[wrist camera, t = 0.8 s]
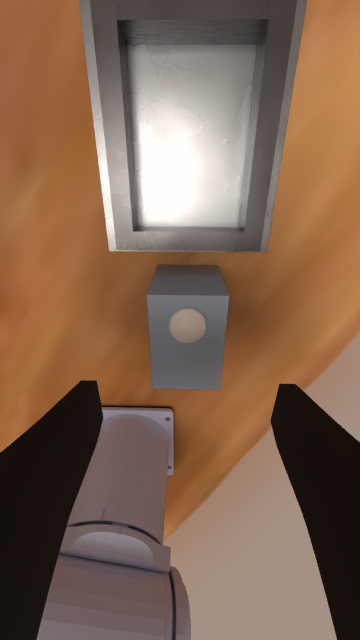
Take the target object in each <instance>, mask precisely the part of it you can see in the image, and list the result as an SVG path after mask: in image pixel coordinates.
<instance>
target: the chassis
mask: <svg viewBox="0 0 360 640" xmlns="http://www.w3.org/2000/svg"><path fill="white" fill-rule="evenodd" d="M306 4H307V0H79V5H80V13H81V22H82V30H83V38H84V46H85V55H86V63H87V71H88V79H89V88H90V96H91V104H92V112H93V121H94V129H95V137H96V146H97V154H98V162H99V170H100V179H101V187H102V195H103V203H104V212H105V220H106V228H107V236H108V245H109V251H154V252H255V253H266V252H267V246H268V240H269V234H270V228H271V221H272V215H273V209H274V203H275V196H276V190H277V184H278V178H279V172H280V165H281V159H282V153H283V147H284V140H285V134H286V128H287V122H288V116H289V109H290V103H291V97H292V91H293V85H294V78H295V72H296V66H297V60H298V53H299V47H300V41H301V35H302V29H303V22H304V16H305V10H306Z"/></svg>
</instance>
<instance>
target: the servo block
mask: <svg viewBox="0 0 360 640" xmlns="http://www.w3.org/2000/svg"><path fill="white" fill-rule="evenodd" d="M228 306H229V294H228V291H227V289H226V286H225V284H224V281H223V279H222V276H221V274H220V272H219V269H218V267H217V265H157V268H156V270H155V273H154V276H153V279H152V282H151V285H150V287H149V290H148V293H147V307H148V324H149V341H150V358H151V375H152V389H175V390H220V383H221V373H222V364H223V354H224V344H225V335H226V325H227V315H228Z"/></svg>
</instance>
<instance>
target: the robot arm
mask: <svg viewBox="0 0 360 640" xmlns="http://www.w3.org/2000/svg"><path fill="white" fill-rule="evenodd" d="M166 417H169V418H166ZM271 424H272V428H273V433H274V437H275V440H276V444H277V448H278V450H279V453H280V456H281V459H282V461H283V464H284V467H285V469H286V472H287V474H288V477H289V480H290V482H291V485H292V487H293V490H294V493H295V495H296V498H297V500H298V503H299V506H300V508H301V511H302V514H303V517H304V520H305V523H306V526H307V529H308V532H309V536H310V539H311V543H312V546H313V550H314V553H315V556H316V560H317V563H318V567H319V571H320V575H321V579H322V582H323V586H324V590H325V593H326V597H327V601H328V605H329V609H330V613H331V617H332V621H333V625H334V629H335V633H336V637H337V640H360V442H359V441H357V440H356V439H355V438H354V437H353V436H352V435H350V434H349V433H348V432H347V431H346V430H345V429H344V428H342V427H341V426H340V425H339V424H338V423H337V422H336V421H335V420H333V419H332V418H331V417H330V416H329V415H328V414H327V413H326V412H325V411H324V410H323V409H321V408H320V407H319V406H318V405H317V404H316V403H315V402H314V401H313V400H312V399H311V398H310V397H309V396H308V395H307V394H306V393H305V392H303V391H302V390H301V389H300V388H299V387H298V386H297V385H296V384H279V388H278V392H277V397H276V401H275V405H274V409H273V413H272V417H271ZM173 474H174V421H173V410H172V409H169V408H123V407H101V402H100V396H99V391H98V386H97V381H82V380H81V381H80V382H79V383H78V384H77V385H76V386H75V387H74V388H73V389H72V390H71V391H69V392H68V393H67V394H66V395H65V396H64V397H63V398H62V399H61V400H60V401H59V402H58V403H57V404H56V405H55V406H54V407H53V408H52V409H50V410H49V411H48V412H47V413H46V414H45V415H44V416H43V417H42V418H41V419H40V420H38V421H37V422H36V423H35V424H34V425H33V426H32V427H31V428H29V429H28V430H27V431H26V432H25V433H24V434H22V435H21V436H20V437H19V438H18V439H17V440H15V441H14V442H13V443H12V444H11V445H9V446H8V447H7V448H6V449H4V450H3V451H2V452H1V453H0V640H191V620H190V607H189V600H188V595H187V591H186V588H185V585H184V583H183V581H182V578H181V575H180V573H179V571H178V570H177V569H176V568H175V567H172V566H170V547H167V546H163V532H164V516H165V501H166V485H167V476H171V475H173Z"/></svg>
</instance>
